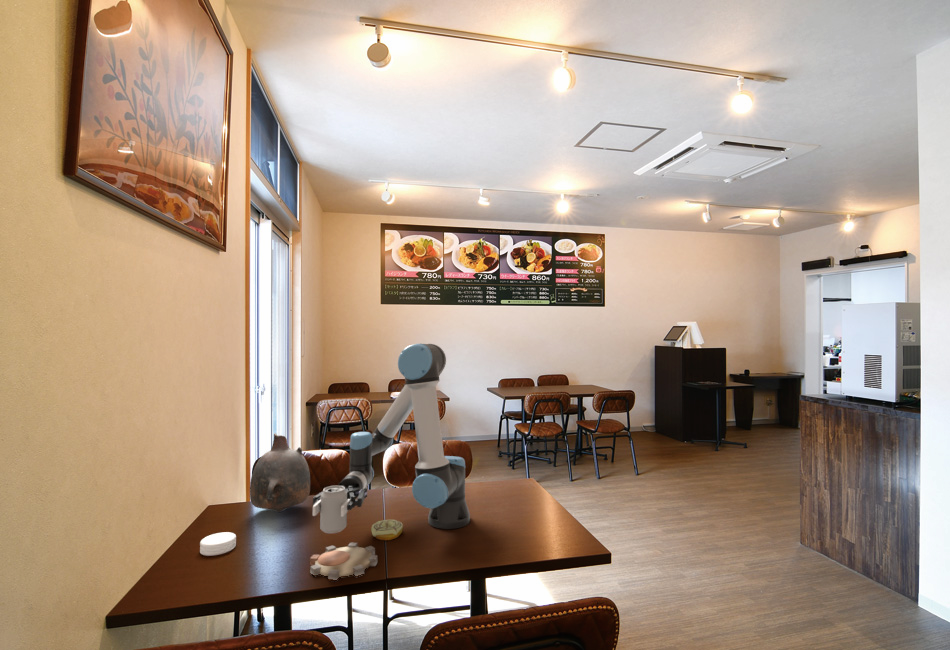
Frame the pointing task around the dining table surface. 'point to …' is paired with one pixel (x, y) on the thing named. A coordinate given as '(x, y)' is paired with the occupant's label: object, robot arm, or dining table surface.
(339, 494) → the can
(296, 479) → the jug
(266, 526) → the dining table surface
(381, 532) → the decorated donut
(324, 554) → the sprocket wheel
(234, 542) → the white thick disc
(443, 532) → the dining table surface
